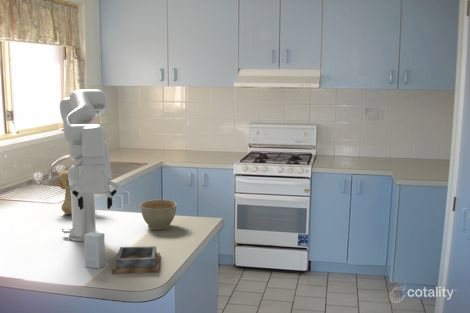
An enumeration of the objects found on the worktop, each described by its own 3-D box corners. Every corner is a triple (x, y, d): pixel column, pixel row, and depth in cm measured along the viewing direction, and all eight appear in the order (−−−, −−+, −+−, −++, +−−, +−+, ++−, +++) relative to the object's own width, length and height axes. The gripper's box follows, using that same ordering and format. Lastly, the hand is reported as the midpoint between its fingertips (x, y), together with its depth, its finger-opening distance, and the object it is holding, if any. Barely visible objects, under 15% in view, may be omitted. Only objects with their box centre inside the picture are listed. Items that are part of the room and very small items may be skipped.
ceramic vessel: (63, 208, 263) (61, 160, 259) (101, 207, 265) (100, 160, 261) (54, 217, 246) (51, 166, 242) (95, 216, 248) (93, 166, 244)
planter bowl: (133, 229, 229) (133, 205, 227) (155, 220, 243) (154, 198, 241) (163, 234, 222) (162, 210, 220) (183, 225, 236) (183, 202, 234)
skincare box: (105, 264, 186) (104, 233, 184) (99, 268, 182) (98, 236, 180) (91, 262, 188) (90, 231, 186) (84, 266, 184) (83, 234, 182)
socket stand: (112, 273, 178) (111, 261, 177) (117, 257, 194) (117, 246, 193) (158, 272, 179) (158, 260, 179) (160, 256, 195) (159, 244, 194)
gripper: (66, 163, 175) (68, 211, 178) (117, 162, 177) (118, 210, 180) (70, 160, 183) (72, 206, 185) (119, 159, 185) (121, 205, 187)
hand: (95, 208), depth 182 cm, fingers open, 9 cm apart
